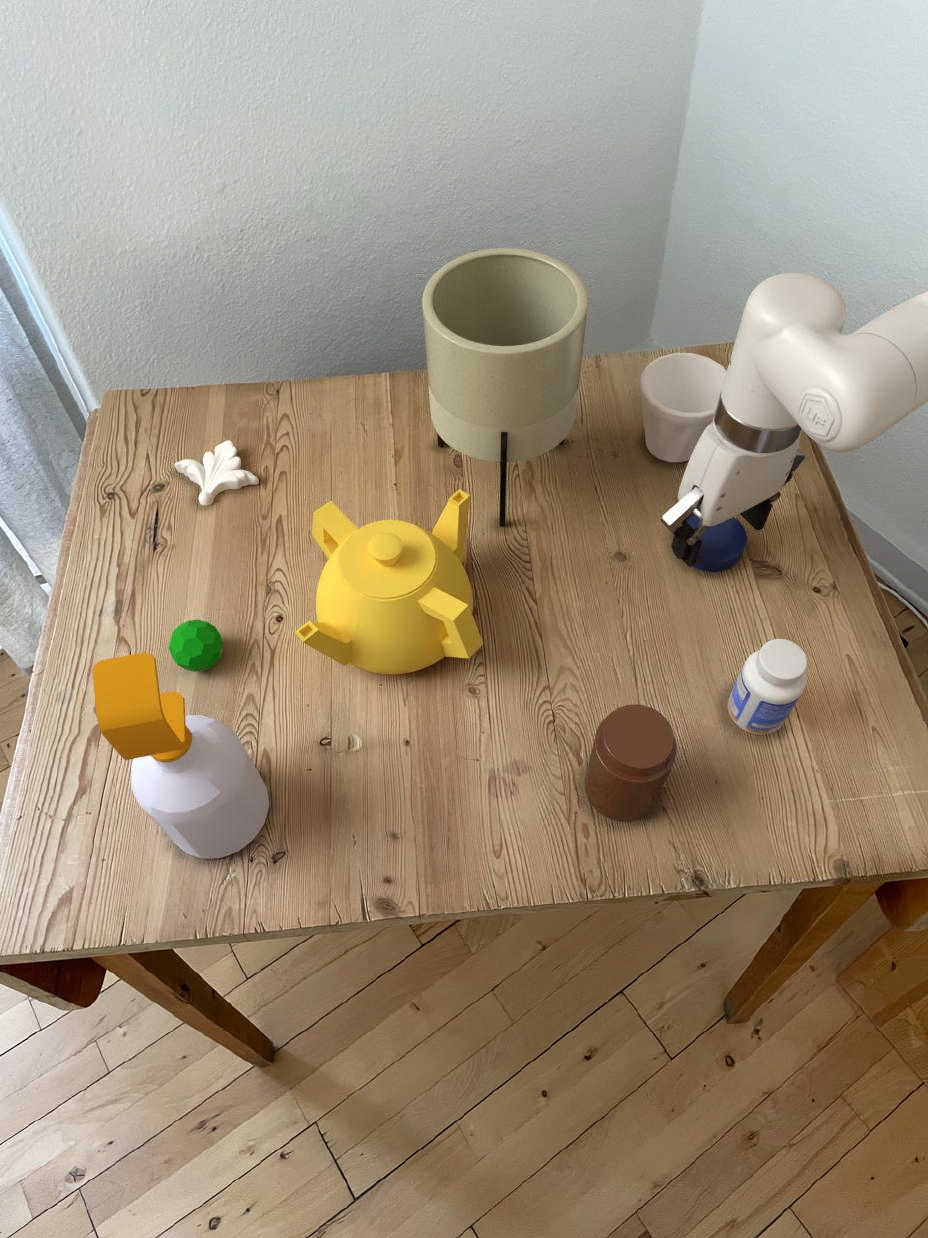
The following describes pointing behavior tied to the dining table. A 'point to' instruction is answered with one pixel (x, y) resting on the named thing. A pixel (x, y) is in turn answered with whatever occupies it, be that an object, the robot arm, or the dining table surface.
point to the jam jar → (630, 762)
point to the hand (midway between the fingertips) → (717, 538)
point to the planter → (504, 354)
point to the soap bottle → (179, 760)
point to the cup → (678, 403)
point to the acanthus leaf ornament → (217, 472)
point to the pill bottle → (768, 687)
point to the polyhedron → (195, 645)
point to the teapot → (393, 592)
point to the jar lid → (720, 545)
